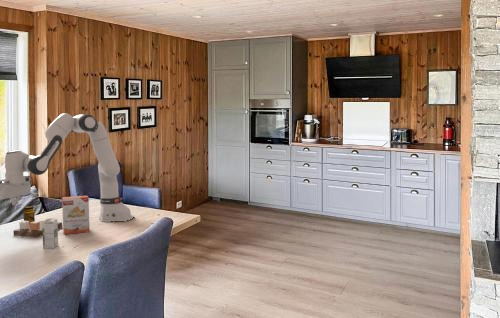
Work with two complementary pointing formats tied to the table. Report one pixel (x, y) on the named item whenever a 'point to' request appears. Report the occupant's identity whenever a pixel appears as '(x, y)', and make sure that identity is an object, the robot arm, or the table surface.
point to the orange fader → (34, 225)
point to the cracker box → (75, 214)
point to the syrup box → (50, 233)
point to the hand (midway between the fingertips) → (15, 204)
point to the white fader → (24, 224)
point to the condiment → (29, 214)
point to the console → (32, 231)
